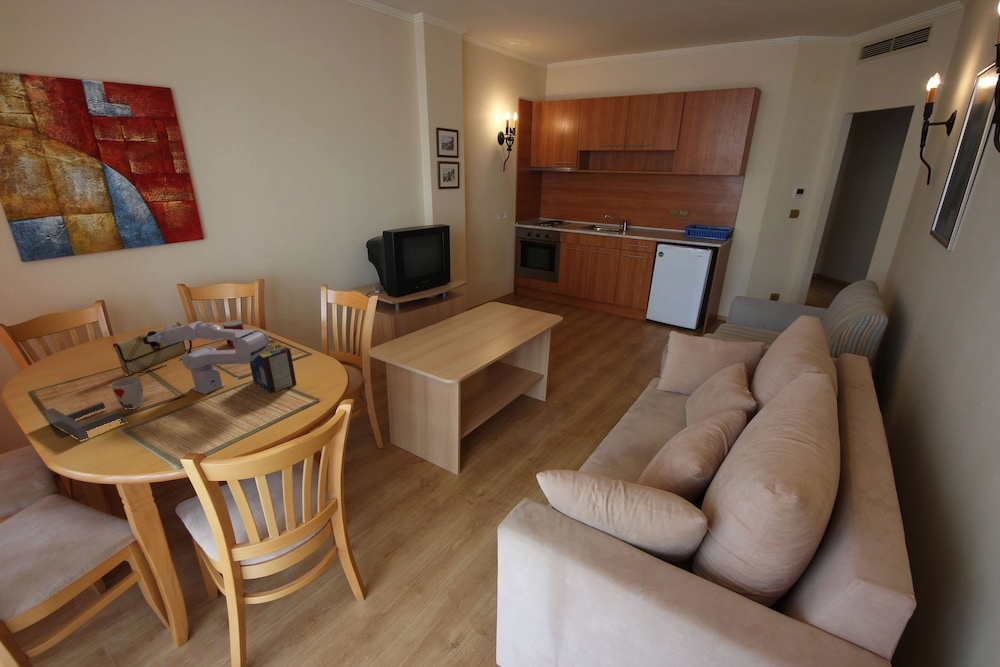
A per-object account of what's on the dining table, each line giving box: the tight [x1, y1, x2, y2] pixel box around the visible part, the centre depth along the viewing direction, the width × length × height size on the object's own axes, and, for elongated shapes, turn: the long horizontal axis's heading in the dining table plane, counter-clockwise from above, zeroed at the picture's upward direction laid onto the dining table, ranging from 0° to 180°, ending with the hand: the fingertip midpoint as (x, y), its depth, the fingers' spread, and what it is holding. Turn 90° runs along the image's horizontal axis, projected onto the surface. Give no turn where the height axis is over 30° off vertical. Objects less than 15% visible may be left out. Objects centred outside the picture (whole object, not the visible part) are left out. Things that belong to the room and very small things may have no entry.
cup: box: [110, 376, 144, 409], centre depth 153 cm, size 8×8×10 cm
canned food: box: [222, 319, 245, 347], centre depth 208 cm, size 8×8×11 cm
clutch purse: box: [111, 321, 193, 376], centre depth 185 cm, size 30×7×15 cm, turn 164°
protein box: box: [249, 339, 297, 394], centre depth 170 cm, size 10×15×16 cm
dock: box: [44, 402, 130, 440], centre depth 144 cm, size 22×13×5 cm, turn 63°
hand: (155, 339), depth 168 cm, fingers open, 7 cm apart
